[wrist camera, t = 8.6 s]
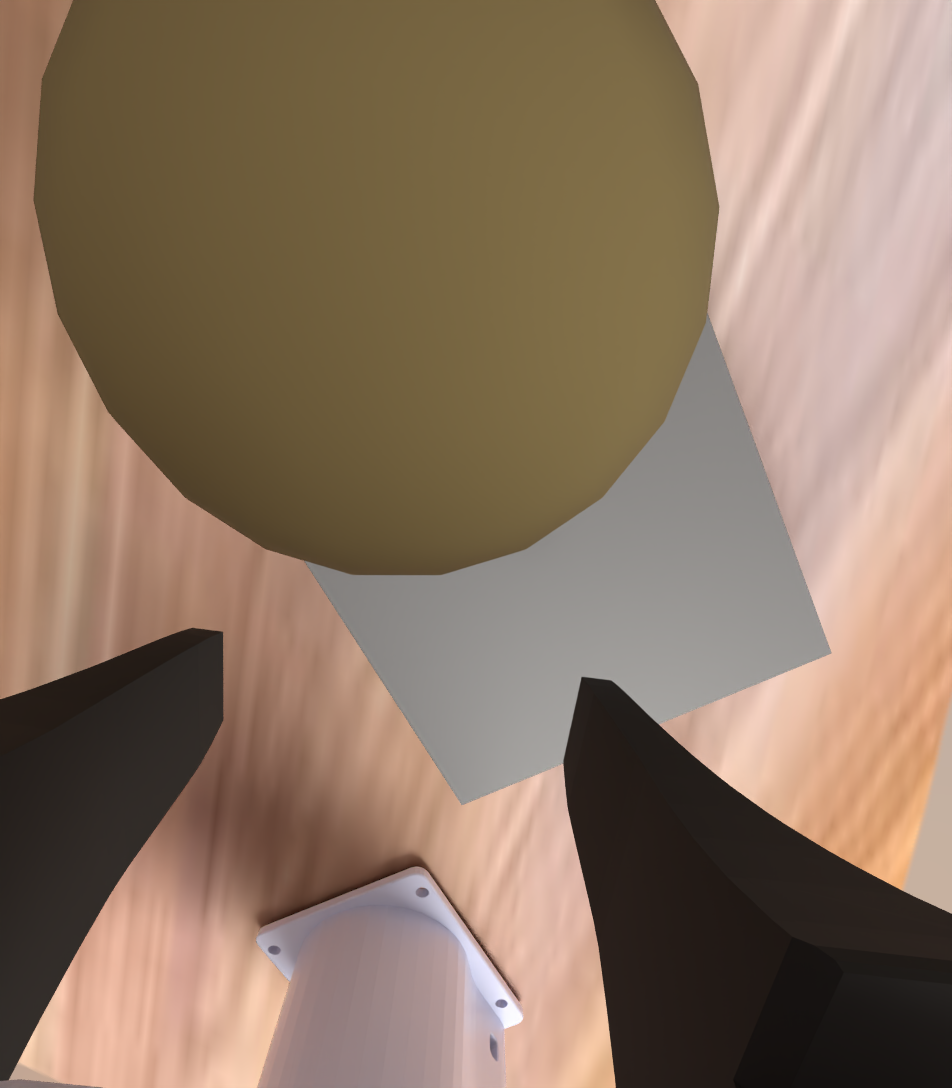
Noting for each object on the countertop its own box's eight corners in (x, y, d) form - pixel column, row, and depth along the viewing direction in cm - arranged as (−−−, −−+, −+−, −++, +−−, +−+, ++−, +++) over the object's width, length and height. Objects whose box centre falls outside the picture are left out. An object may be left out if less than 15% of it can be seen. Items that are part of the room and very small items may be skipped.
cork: (298, 212, 13) (-440, -368, 3) (562, 163, 13) (936, -747, 2) (357, 471, 15) (62, 740, 4) (588, 434, 15) (860, 633, 4)
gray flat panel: (779, 609, 19) (831, 653, 16) (464, 744, 21) (461, 805, 18) (571, 68, 15) (592, -2, 12) (190, 302, 16) (129, 290, 14)
